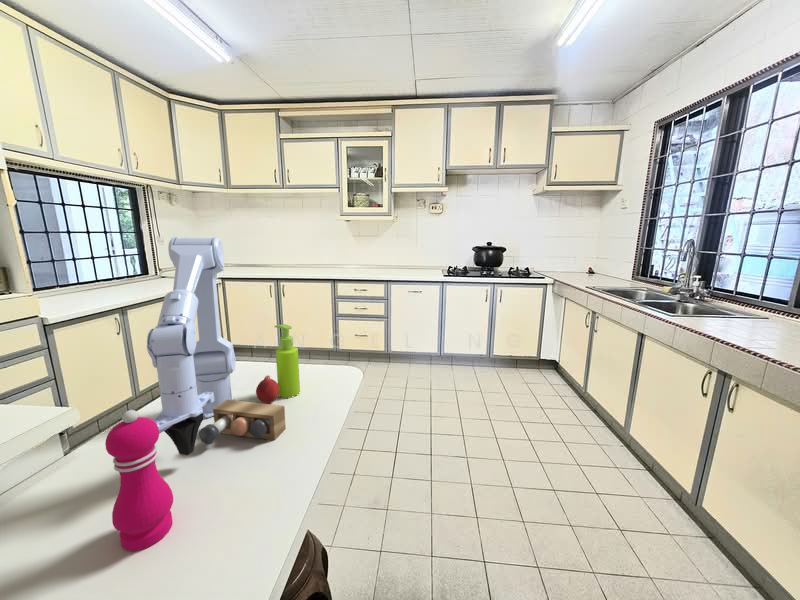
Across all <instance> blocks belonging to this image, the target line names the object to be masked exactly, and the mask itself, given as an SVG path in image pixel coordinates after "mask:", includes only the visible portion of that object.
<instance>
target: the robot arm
mask: <svg viewBox="0 0 800 600" xmlns="http://www.w3.org/2000/svg"><path fill="white" fill-rule="evenodd" d="M168 255H169V256H168V257H169V259H170V261H171V262H172V264H173V267H174V268H175V272H174V279H173V287H172V291H168V292H167V293H166V294H165V295H164V298H163V303H162V307H161V310H160V314H159V316H158V317H159V318H158V322H157V324H156V325H155V327H154V328H151V329H150V330H149V331H148V334H147V336H146V350H147V354H148V355H149V357H150V358H151V362H152V367H153V368H154V369H156V372H157V380H158V387H159V395H160V400H161V401H160V403H161V409H162V411H161V412H160V413H159V414H158V415H157V416H156V417H155V418H154V419H152V420H153V421H155V423H156V424H157V426H158V428H159V435H160V434H162V433H163V432H164V433H166V435H167V436H168V437H169V438H170V439H171V441H172V442H173V444H174V445H175V447H176V449H177V451H178V454H179V455H182V456H184V455H185V456H189V455H191V454H192V453H194V451H195V450H194V449H195V445H196V439H197V436H198V433H199V429H200V427H201V425H202V422H203V421H204V419H209V418H212V417H214V414H213V409H214V408H215V407H217V406H218V405H220V404H221V403H223V402H224V401H225V400H233V396H232V387H231V386H232V385H231V384H232V383H231V374H233V372H234V371H235V370H236V362H237V361H236V354H235V353H236V352H235V349H234V345H233V343H232V342H231V341H229V340H227V339H225V338H224V337H222V336H221V327H220V315H219V302H218V301H219V299H218V290H217V289H218V288H217V277H218V274H219V273H221V272H223V271H224V269H225V268H224V267H225V258H224V257H225V256H224V247H223V243H222V241H221V240H220V239H219V237H218V236H217V237H177V236H174V237H172V238H170V240H169V242H168ZM196 317H197V325H196ZM197 328H198V329H197ZM197 330H198V331H197ZM197 333H198V338H197ZM197 340H198V341H197Z"/></svg>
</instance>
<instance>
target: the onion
mask: <svg viewBox="0 0 800 600" xmlns="http://www.w3.org/2000/svg"><path fill="white" fill-rule="evenodd" d="M279 391H280V388H279V385H278V381H276V380H274V379H273V378H271V376H270V375H268V374H267V375H265V376H264V379H262V380H260V382H259V383H258V384H257V386H256V389H255V393H256V398H257V399H258V400H259V401H260V403H261V402H262V404H272V403H273V402H274V401H275V400H276V399H277V398H278V397H279Z"/></svg>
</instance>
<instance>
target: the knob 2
mask: <svg viewBox="0 0 800 600" xmlns="http://www.w3.org/2000/svg"><path fill="white" fill-rule="evenodd" d="M269 426H270V424H269V419H263V418H262V419H257V420H256V421H254V422H253V423H252V424H251V425H250V427H249V431H250V433H251V435H252V436H254V437H253V438H255V437H256V438H255V439H262V438H261V437H263V436H264V435H265V434H266V433H267V432H268V429H269Z"/></svg>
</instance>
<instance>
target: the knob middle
mask: <svg viewBox="0 0 800 600" xmlns="http://www.w3.org/2000/svg"><path fill="white" fill-rule="evenodd" d="M250 425H251V417H246V416H244V417H238V418H237V419H236V420H234V421H233V422H232V423H231V430H232V432H233V433H234V434H235V436H240V437H242V436H241V435H243V434H244V433H246V432H247V431H248V430H249V427H250Z"/></svg>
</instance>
